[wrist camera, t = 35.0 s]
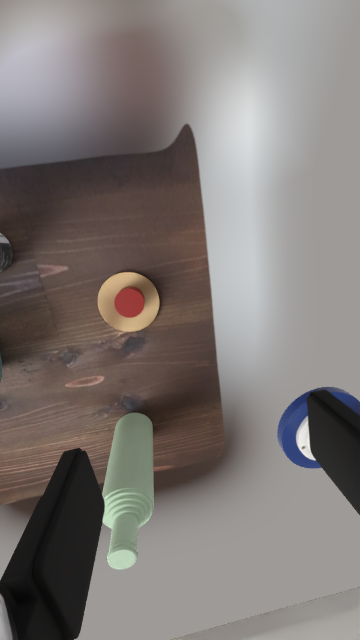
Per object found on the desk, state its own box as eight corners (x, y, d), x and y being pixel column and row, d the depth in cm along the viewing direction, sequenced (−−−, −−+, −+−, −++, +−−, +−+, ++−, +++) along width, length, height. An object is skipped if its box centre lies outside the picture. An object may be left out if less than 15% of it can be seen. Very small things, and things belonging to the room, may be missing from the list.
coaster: (170, 293, 37) (171, 294, 36) (139, 340, 38) (138, 342, 38) (118, 259, 35) (118, 259, 34) (87, 310, 36) (86, 311, 35)
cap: (121, 282, 35) (118, 284, 32) (148, 291, 36) (148, 294, 33) (113, 308, 36) (110, 312, 33) (140, 316, 37) (139, 321, 34)
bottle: (155, 413, 42) (159, 536, 24) (149, 444, 44) (149, 581, 25) (117, 410, 41) (91, 536, 23) (113, 442, 43) (86, 583, 24)
